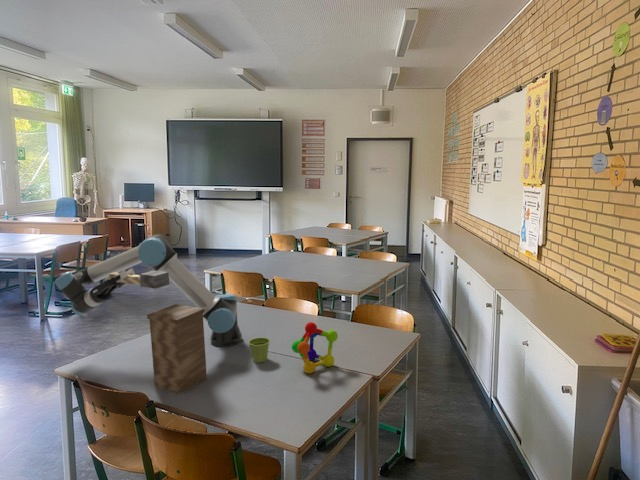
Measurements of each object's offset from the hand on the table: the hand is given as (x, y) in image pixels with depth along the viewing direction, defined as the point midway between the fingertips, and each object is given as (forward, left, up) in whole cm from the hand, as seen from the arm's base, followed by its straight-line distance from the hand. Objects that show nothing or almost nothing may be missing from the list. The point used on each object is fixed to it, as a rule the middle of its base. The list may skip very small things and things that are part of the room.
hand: (129, 272), depth 186 cm
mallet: (-3, +2, -4) cm, 6 cm away
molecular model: (-73, +3, -43) cm, 84 cm away
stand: (-21, +12, -43) cm, 49 cm away
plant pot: (-51, -6, -43) cm, 67 cm away
